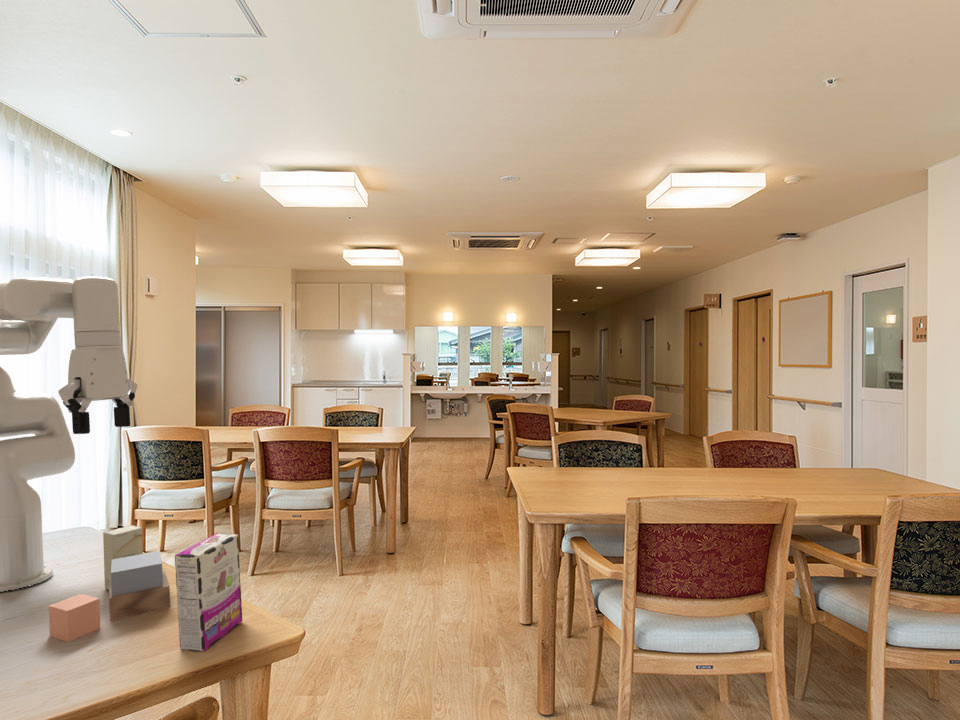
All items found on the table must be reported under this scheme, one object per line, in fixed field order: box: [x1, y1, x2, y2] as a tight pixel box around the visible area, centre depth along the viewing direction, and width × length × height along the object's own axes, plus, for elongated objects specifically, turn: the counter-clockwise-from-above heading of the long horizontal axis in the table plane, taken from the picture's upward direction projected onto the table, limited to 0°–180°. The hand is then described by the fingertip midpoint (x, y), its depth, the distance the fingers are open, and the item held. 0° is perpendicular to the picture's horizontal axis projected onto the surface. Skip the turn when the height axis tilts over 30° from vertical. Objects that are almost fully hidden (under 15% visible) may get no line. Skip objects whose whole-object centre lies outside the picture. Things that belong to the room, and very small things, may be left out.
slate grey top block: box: [111, 551, 163, 596], centre depth 118 cm, size 8×8×4 cm
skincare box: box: [102, 524, 144, 591], centre depth 128 cm, size 6×4×12 cm
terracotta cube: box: [48, 593, 101, 643], centre depth 107 cm, size 6×6×6 cm
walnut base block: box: [108, 570, 171, 622], centre depth 118 cm, size 10×10×4 cm
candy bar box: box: [174, 533, 243, 653], centre depth 104 cm, size 11×5×16 cm, turn 168°
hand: (102, 429), depth 116 cm, fingers open, 9 cm apart
